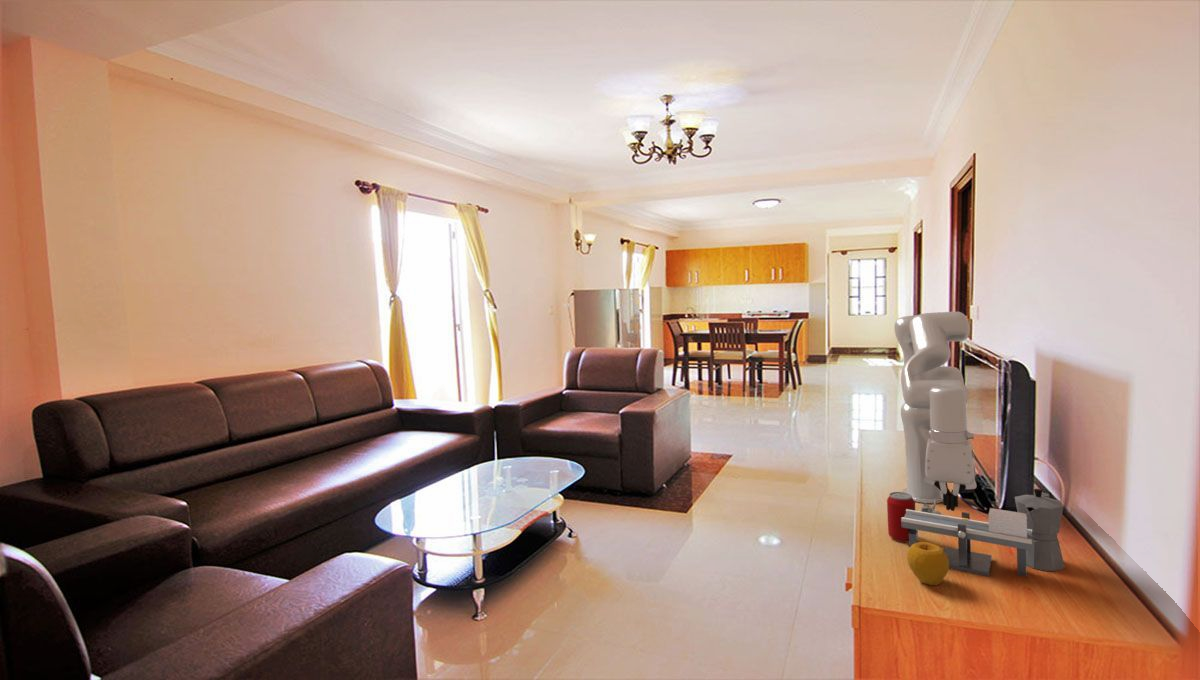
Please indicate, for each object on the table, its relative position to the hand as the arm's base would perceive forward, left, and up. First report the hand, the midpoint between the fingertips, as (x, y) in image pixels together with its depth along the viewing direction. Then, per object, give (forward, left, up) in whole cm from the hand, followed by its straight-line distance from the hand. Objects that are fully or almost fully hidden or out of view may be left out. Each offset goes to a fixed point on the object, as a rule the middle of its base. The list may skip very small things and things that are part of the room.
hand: (950, 508), depth 135 cm
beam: (+1, +3, -5) cm, 6 cm away
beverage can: (-7, -12, -13) cm, 19 cm away
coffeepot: (-9, +17, -13) cm, 23 cm away
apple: (+15, -3, -13) cm, 20 cm away
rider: (+1, +11, -4) cm, 12 cm away
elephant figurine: (-21, -6, -13) cm, 26 cm away
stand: (+1, +3, -13) cm, 13 cm away
